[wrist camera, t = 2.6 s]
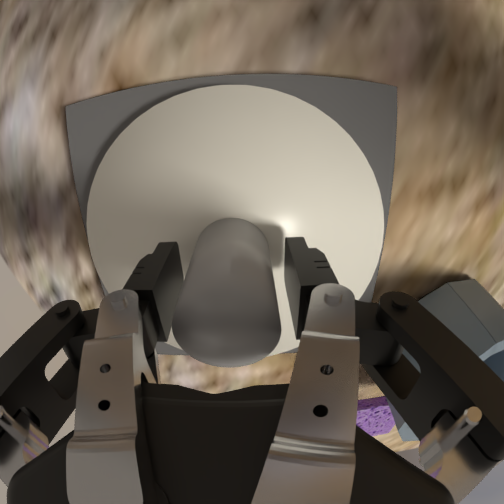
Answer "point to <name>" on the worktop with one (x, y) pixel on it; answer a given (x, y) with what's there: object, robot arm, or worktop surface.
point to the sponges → (374, 416)
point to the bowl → (464, 328)
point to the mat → (301, 86)
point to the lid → (234, 211)
